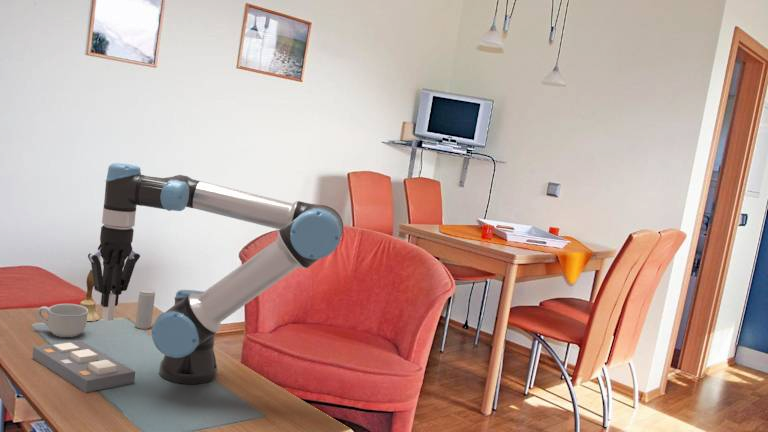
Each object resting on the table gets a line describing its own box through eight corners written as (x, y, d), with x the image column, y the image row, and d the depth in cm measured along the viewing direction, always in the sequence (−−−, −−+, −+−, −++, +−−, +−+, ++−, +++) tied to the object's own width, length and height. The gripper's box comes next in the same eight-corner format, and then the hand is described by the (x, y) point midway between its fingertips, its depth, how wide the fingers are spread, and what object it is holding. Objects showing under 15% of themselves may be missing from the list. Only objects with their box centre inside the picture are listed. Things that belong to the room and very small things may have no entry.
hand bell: (79, 313, 223) (85, 265, 221) (104, 317, 223) (110, 270, 221) (67, 319, 214) (72, 270, 213) (92, 323, 214) (98, 274, 213)
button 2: (115, 373, 171) (116, 365, 171) (98, 377, 167) (99, 368, 167) (105, 367, 174) (106, 359, 174) (87, 371, 170) (88, 362, 170)
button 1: (78, 355, 182) (79, 347, 182) (61, 358, 178) (62, 350, 178) (69, 350, 185) (70, 342, 185) (52, 352, 181) (53, 344, 181)
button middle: (96, 362, 177) (97, 354, 176) (79, 365, 173) (80, 357, 173) (87, 356, 179) (88, 348, 179) (69, 359, 176) (70, 351, 175)
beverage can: (135, 324, 220) (139, 288, 218) (150, 325, 221) (155, 289, 220) (135, 329, 215) (139, 292, 214) (151, 330, 217) (155, 293, 216)
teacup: (92, 333, 206) (95, 307, 205) (72, 342, 195) (75, 316, 194) (49, 325, 207) (51, 299, 206) (27, 334, 196) (30, 307, 195)
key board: (134, 382, 174) (135, 371, 173) (85, 392, 163) (87, 380, 163) (79, 350, 190) (80, 339, 189) (32, 357, 179) (33, 346, 179)
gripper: (133, 223, 175) (123, 312, 177) (84, 223, 164) (74, 317, 167) (149, 229, 170) (139, 320, 173) (100, 229, 160) (90, 325, 162)
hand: (107, 318), depth 170 cm, fingers closed
